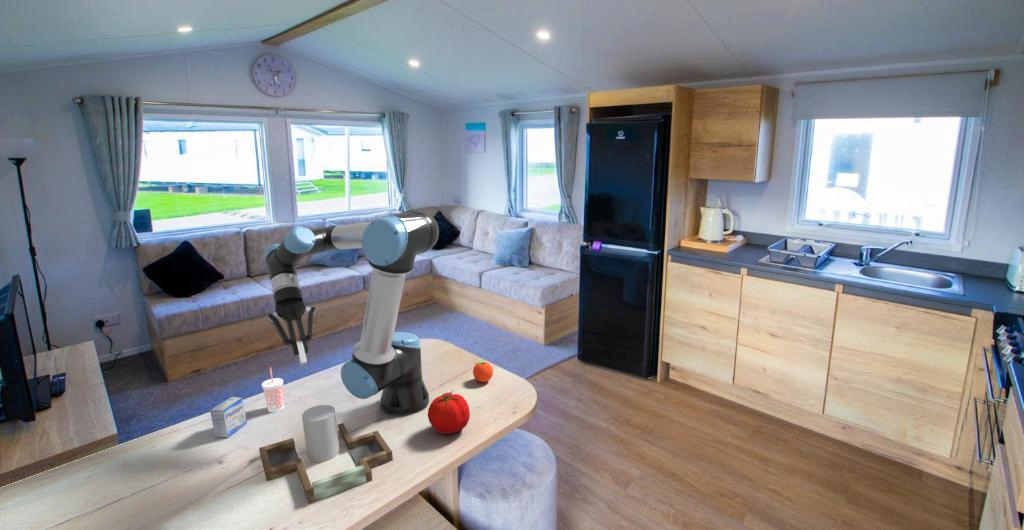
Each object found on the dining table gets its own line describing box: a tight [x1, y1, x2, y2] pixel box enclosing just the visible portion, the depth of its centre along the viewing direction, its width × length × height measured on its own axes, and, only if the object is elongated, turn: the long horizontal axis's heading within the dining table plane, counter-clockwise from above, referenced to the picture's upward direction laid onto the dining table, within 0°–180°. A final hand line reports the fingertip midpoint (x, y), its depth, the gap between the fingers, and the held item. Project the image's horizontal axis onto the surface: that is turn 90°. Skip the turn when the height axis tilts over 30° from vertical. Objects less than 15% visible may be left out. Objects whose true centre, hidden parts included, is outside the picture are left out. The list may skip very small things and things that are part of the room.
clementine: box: [472, 360, 494, 383], centre depth 175 cm, size 8×7×7 cm
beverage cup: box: [261, 366, 285, 413], centre depth 159 cm, size 6×6×14 cm
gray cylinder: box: [301, 404, 340, 463], centre depth 135 cm, size 8×8×12 cm
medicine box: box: [209, 396, 247, 438], centre depth 148 cm, size 8×4×9 cm, turn 168°
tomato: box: [427, 390, 471, 435], centre depth 145 cm, size 12×12×11 cm
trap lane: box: [258, 422, 394, 504], centre depth 132 cm, size 29×26×4 cm
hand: (304, 364), depth 141 cm, fingers closed
